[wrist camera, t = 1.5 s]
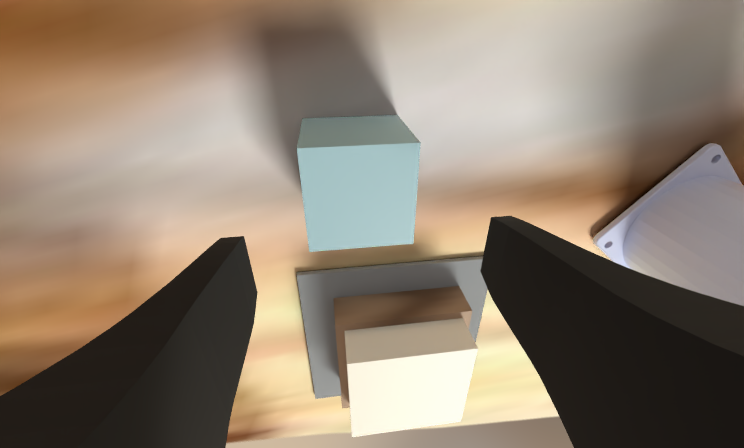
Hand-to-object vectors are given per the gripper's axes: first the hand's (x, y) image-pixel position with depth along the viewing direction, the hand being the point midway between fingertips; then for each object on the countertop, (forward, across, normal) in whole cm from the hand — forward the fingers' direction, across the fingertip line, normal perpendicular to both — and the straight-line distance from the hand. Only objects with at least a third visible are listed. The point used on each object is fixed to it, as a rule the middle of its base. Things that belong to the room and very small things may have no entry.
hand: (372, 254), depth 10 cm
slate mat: (+8, -3, +13) cm, 15 cm away
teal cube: (+8, 0, 0) cm, 8 cm away
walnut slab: (+8, -3, +13) cm, 15 cm away
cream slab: (+5, -3, +13) cm, 14 cm away
